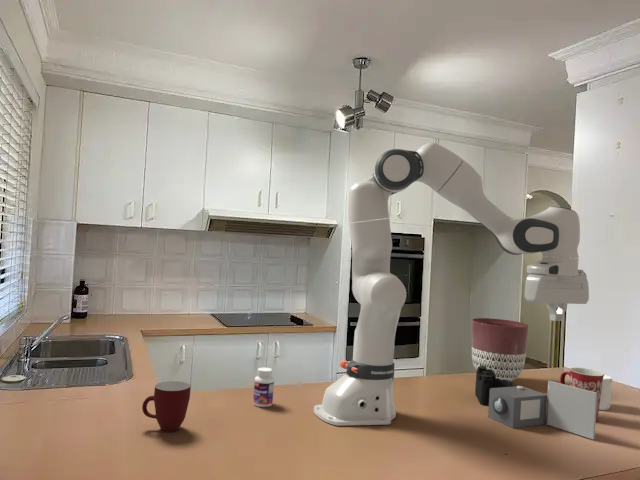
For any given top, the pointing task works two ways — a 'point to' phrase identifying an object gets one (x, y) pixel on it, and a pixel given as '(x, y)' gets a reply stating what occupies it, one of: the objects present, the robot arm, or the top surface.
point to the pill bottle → (263, 388)
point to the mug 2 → (585, 381)
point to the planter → (499, 346)
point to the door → (571, 409)
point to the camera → (487, 384)
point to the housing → (517, 406)
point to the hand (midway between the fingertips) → (556, 320)
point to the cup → (605, 393)
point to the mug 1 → (169, 404)
